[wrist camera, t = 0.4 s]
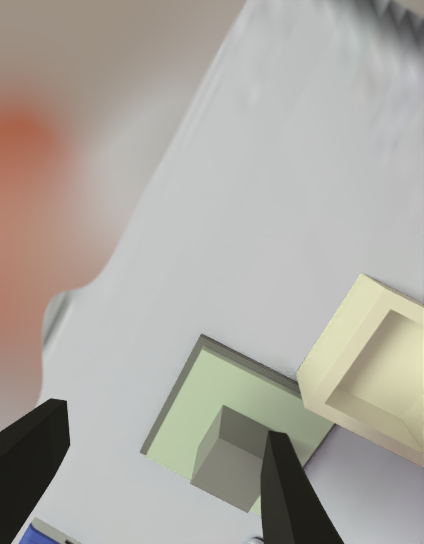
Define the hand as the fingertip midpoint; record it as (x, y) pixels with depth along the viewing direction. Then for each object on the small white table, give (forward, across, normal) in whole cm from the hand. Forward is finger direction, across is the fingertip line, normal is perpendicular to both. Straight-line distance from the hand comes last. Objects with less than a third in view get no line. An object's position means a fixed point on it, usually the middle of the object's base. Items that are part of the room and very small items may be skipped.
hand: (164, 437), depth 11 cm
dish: (+10, -12, +1) cm, 16 cm away
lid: (+9, -3, +9) cm, 13 cm away
